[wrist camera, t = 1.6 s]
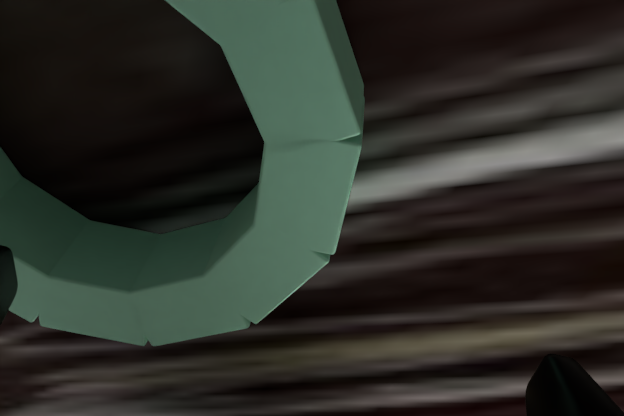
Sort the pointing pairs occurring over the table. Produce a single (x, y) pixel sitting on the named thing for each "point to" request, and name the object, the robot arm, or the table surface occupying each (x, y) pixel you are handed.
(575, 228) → the table surface
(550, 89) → the table surface
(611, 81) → the table surface
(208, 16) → the ring
